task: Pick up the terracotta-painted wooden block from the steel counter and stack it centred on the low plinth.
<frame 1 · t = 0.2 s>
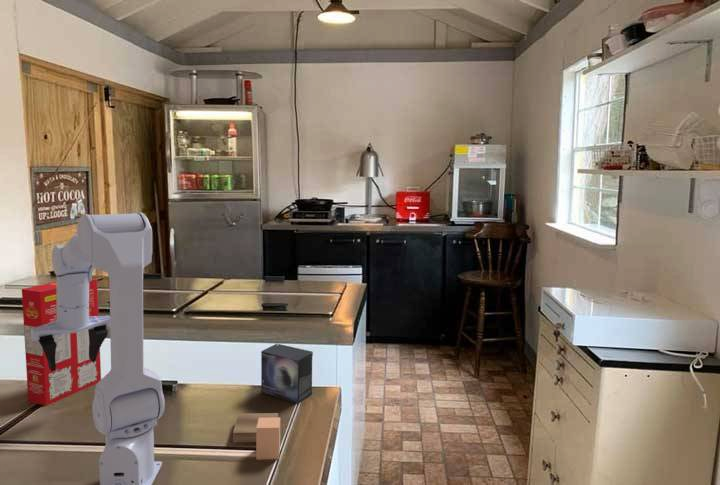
hand: (72, 364, 110), 11 cm above the counter, tool pointing down, fingers open, 7 cm apart
small box: (286, 395, 123), on the counter
food packaging: (66, 391, 122), on the counter
block: (268, 453, 98), on the counter
plinth: (256, 432, 105), on the counter
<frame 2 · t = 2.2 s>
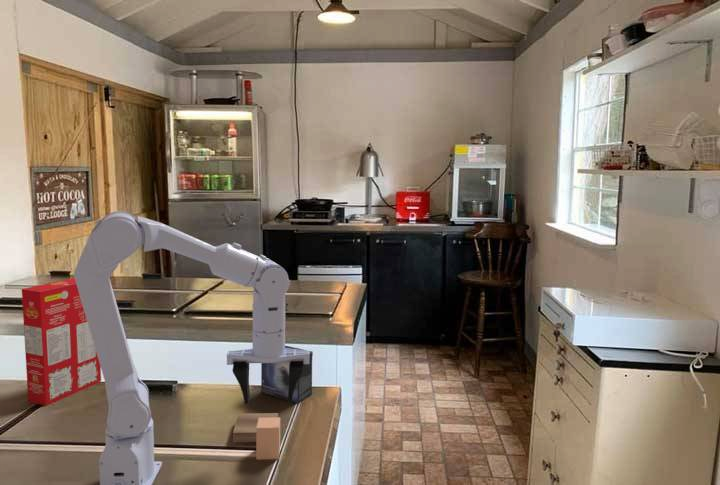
hand: (268, 401, 96), 10 cm above the counter, tool pointing down, fingers open, 7 cm apart
nothing on the counter moved.
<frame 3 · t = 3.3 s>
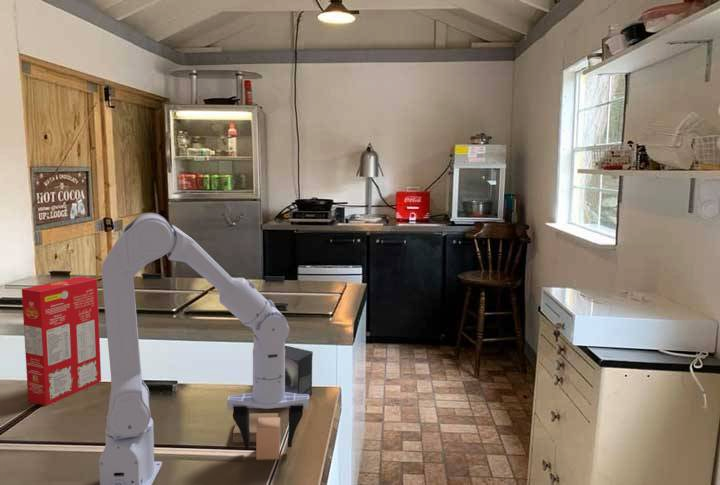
hand: (268, 444, 97), 2 cm above the counter, tool pointing down, fingers open, 7 cm apart
nothing on the counter moved.
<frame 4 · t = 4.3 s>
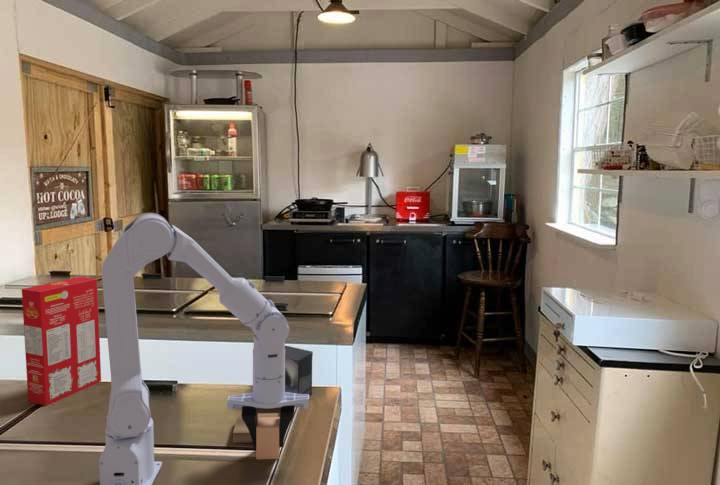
hand: (268, 444, 97), 2 cm above the counter, tool pointing down, fingers closed on block, 4 cm apart
block: (268, 453, 98), on the counter, touching gripper
everything else where it was.
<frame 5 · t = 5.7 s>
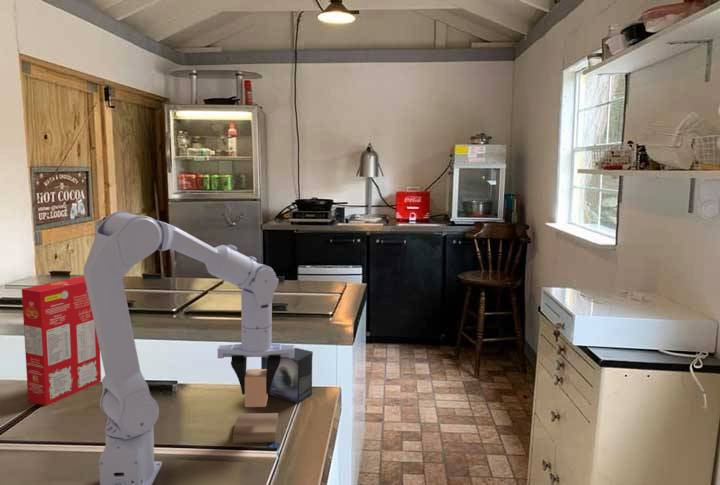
hand: (256, 392, 104), 8 cm above the counter, tool pointing down, fingers closed on block, 4 cm apart
block: (256, 402, 104), point 6 cm above the counter, touching gripper
everything else where it was.
when the fingers open (5 cm above the counter, at t = 7.1 s): block stays where it is, resting on plinth.
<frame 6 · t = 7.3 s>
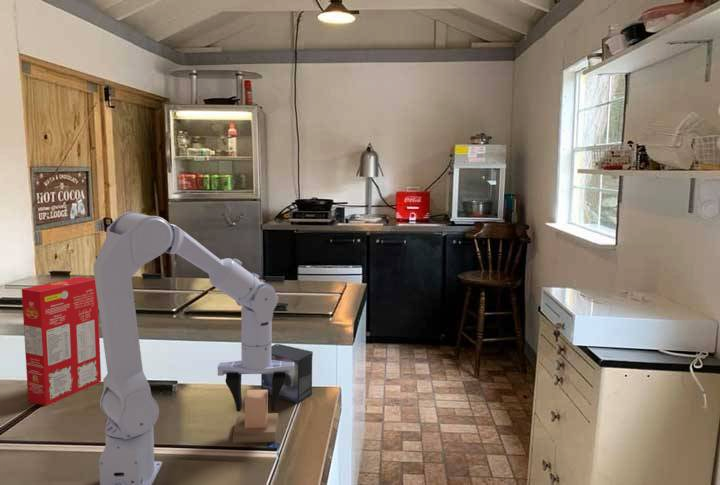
hand: (256, 409, 104), 5 cm above the counter, tool pointing down, fingers open, 6 cm apart
block: (256, 422, 105), point 2 cm above the counter, touching plinth
everything else where it was.
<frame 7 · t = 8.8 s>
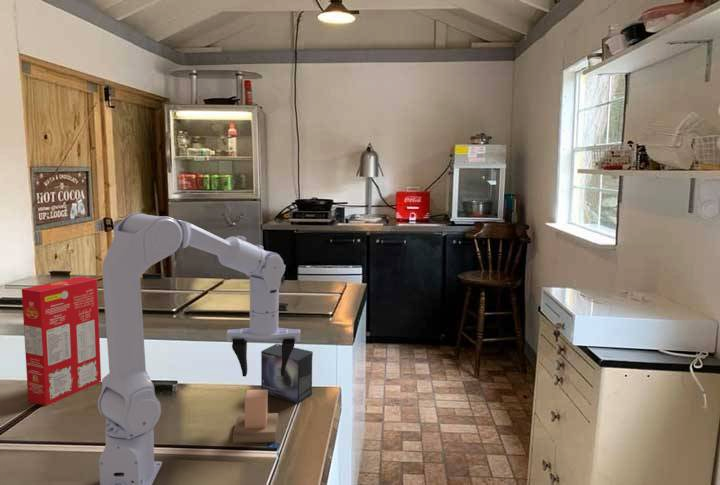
hand: (263, 374, 109), 10 cm above the counter, tool pointing down, fingers open, 7 cm apart
nothing on the counter moved.
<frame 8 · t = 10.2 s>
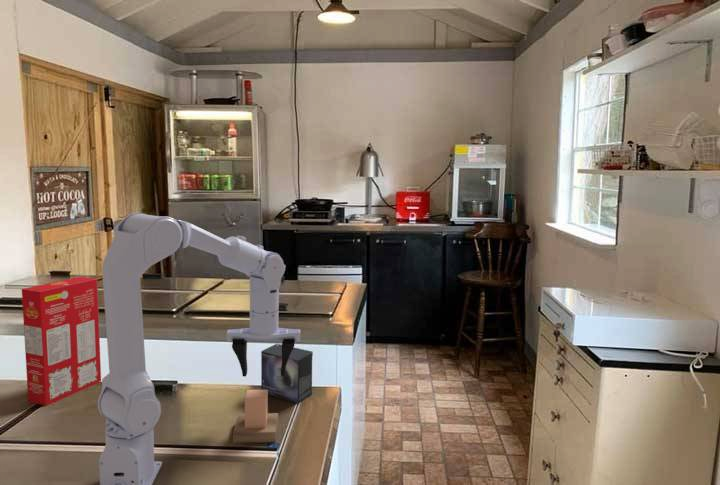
hand: (263, 374, 109), 10 cm above the counter, tool pointing down, fingers open, 7 cm apart
nothing on the counter moved.
at the end: block inside the target area on the plinth (0.2 cm from its centre), point 2.0 cm above the plinth's base; block tilted 0°; the gripper is holding nothing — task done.
